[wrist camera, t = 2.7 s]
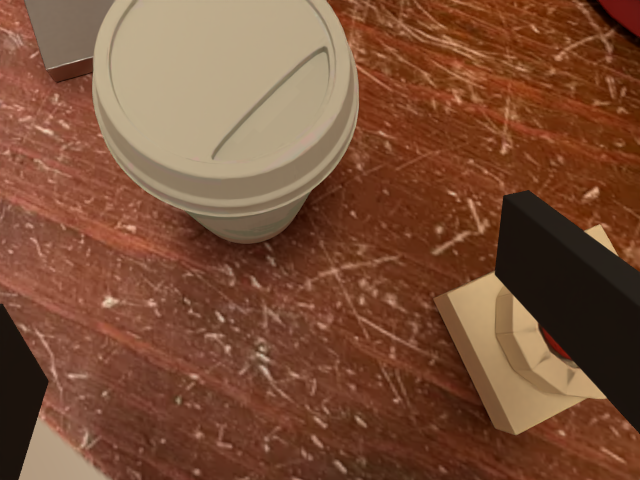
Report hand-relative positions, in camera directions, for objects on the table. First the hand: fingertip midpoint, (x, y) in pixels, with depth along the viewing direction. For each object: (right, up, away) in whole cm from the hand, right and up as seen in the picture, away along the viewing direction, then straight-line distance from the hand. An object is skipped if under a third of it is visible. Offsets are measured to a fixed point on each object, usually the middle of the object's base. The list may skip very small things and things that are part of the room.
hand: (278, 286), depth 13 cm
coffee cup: (-3, +4, +13) cm, 14 cm away
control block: (+12, -3, +12) cm, 18 cm away
